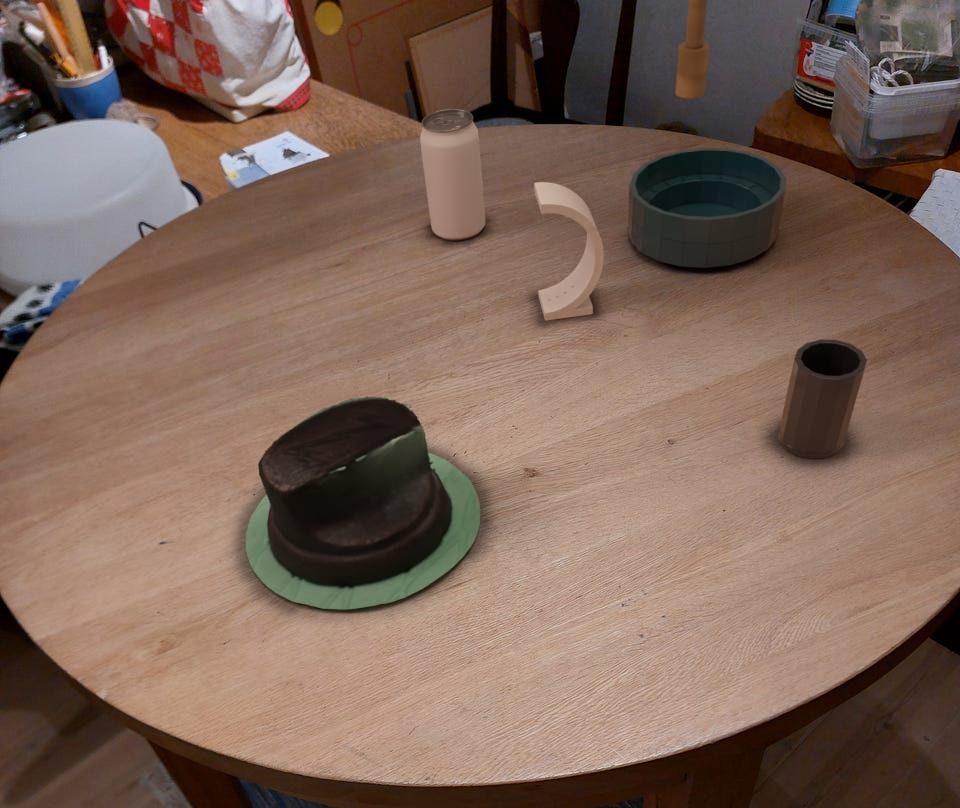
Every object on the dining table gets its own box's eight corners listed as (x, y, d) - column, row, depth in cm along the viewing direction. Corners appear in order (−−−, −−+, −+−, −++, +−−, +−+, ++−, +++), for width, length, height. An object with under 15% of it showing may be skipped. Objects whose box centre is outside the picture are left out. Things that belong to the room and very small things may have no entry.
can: (468, 246, 104) (457, 136, 95) (421, 236, 106) (406, 128, 97) (495, 220, 107) (487, 111, 98) (449, 211, 110) (437, 104, 100)
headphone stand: (538, 297, 96) (533, 182, 87) (594, 289, 96) (596, 173, 87) (544, 320, 93) (540, 204, 84) (602, 313, 93) (605, 195, 84)
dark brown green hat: (366, 405, 85) (535, 489, 76) (263, 574, 85) (421, 677, 76) (275, 318, 71) (469, 409, 63) (153, 519, 71) (331, 637, 63)
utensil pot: (832, 415, 80) (853, 335, 74) (852, 455, 76) (876, 375, 70) (771, 422, 80) (787, 342, 74) (787, 462, 76) (806, 382, 70)
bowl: (756, 194, 106) (764, 140, 101) (793, 265, 95) (804, 209, 91) (618, 210, 106) (619, 157, 101) (640, 282, 96) (643, 227, 91)
